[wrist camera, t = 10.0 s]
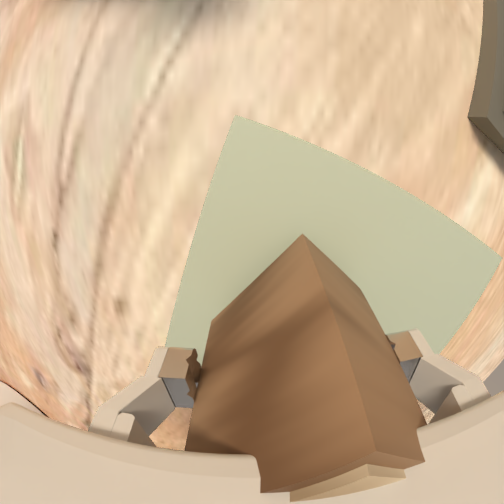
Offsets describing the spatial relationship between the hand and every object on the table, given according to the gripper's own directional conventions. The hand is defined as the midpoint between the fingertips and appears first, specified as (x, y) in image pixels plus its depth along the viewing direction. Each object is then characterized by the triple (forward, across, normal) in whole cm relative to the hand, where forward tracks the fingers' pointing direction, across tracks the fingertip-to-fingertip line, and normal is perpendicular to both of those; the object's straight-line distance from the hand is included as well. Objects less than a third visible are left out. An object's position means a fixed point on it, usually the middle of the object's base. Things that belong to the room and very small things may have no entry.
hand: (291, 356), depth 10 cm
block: (+3, 0, 0) cm, 3 cm away
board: (+6, -4, +2) cm, 7 cm away
